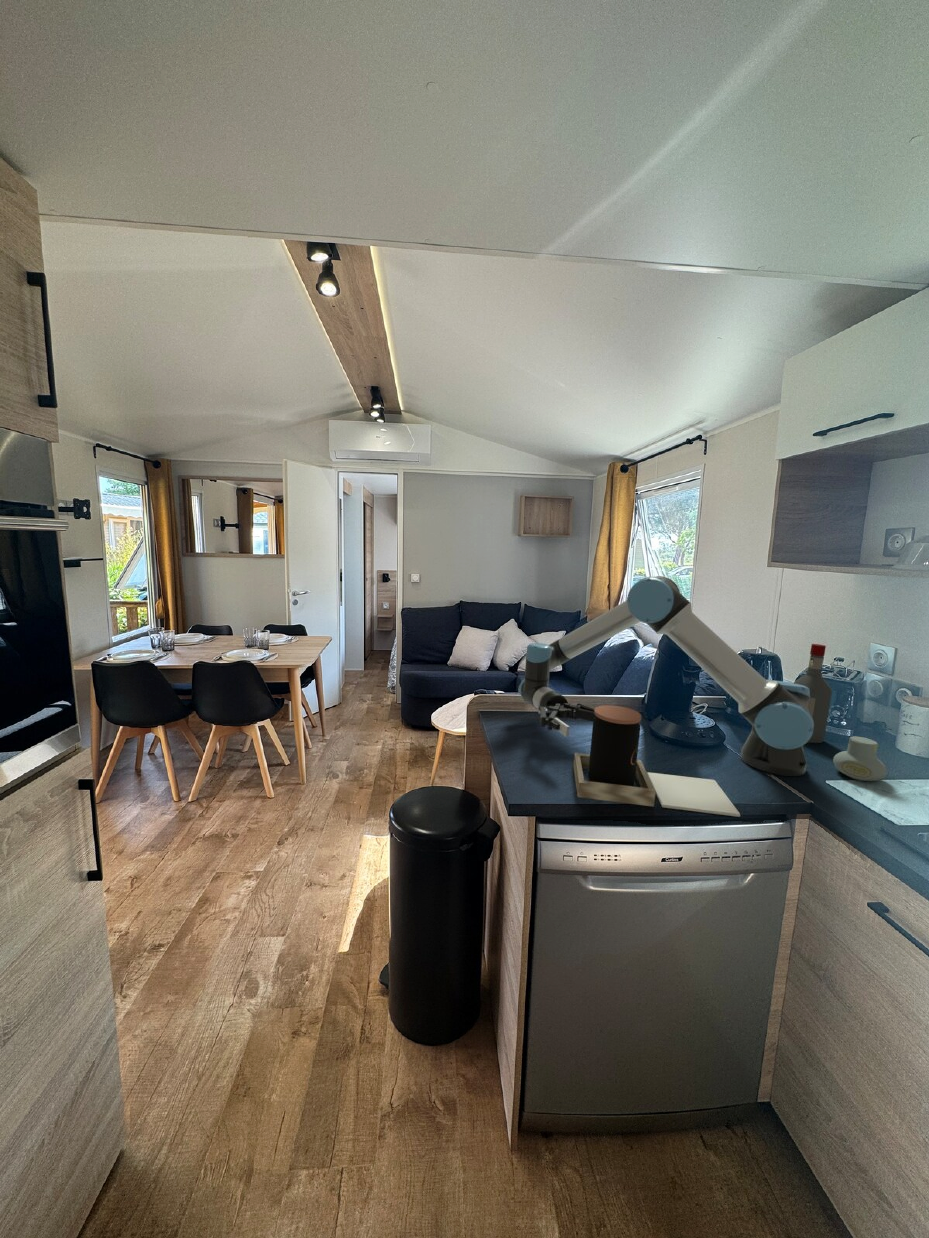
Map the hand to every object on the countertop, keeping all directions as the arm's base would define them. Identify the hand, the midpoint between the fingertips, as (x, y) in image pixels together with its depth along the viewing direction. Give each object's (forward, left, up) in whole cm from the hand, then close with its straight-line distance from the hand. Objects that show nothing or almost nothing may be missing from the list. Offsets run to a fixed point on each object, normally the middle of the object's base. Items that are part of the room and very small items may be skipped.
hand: (591, 729), depth 124 cm
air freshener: (-71, -14, -10) cm, 73 cm away
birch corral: (-5, +8, -10) cm, 14 cm away
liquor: (-71, -41, -10) cm, 82 cm away
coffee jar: (-5, +8, -10) cm, 14 cm away
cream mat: (-23, +8, -10) cm, 26 cm away
